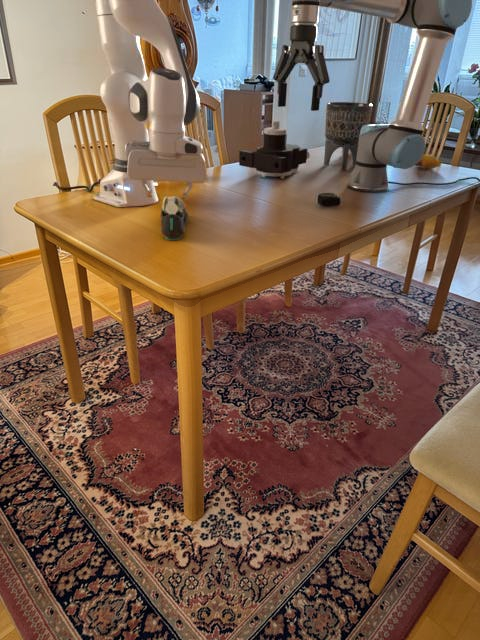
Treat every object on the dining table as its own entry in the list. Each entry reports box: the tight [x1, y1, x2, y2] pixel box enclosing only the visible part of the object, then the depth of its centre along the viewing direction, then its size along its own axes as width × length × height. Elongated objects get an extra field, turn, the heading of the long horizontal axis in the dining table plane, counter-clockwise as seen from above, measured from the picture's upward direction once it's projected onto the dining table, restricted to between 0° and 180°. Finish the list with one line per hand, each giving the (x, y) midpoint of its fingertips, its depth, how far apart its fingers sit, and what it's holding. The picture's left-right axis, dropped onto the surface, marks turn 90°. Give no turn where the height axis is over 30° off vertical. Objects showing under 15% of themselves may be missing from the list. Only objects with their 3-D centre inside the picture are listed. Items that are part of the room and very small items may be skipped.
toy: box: [414, 154, 442, 170], centre depth 212 cm, size 11×6×15 cm
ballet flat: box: [160, 195, 189, 241], centre depth 131 cm, size 8×24×8 cm, turn 10°
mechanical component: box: [238, 120, 311, 179], centre depth 191 cm, size 22×21×30 cm
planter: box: [323, 101, 374, 172], centre depth 204 cm, size 20×20×26 cm
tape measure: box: [317, 192, 342, 208], centre depth 153 cm, size 7×7×4 cm
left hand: (167, 197), depth 121 cm, fingers open, 8 cm apart
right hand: (297, 108), depth 137 cm, fingers open, 13 cm apart
